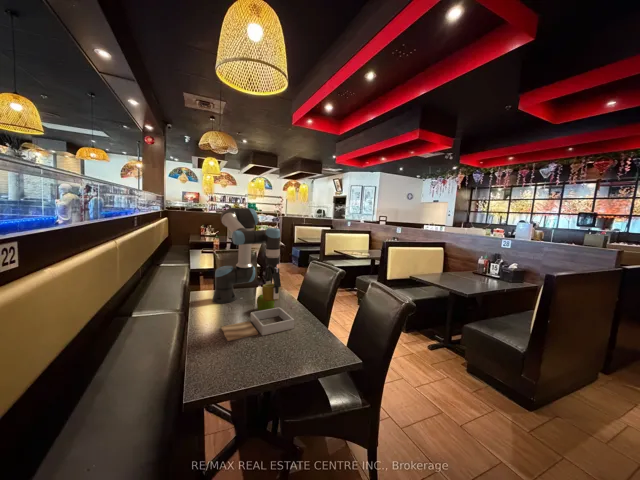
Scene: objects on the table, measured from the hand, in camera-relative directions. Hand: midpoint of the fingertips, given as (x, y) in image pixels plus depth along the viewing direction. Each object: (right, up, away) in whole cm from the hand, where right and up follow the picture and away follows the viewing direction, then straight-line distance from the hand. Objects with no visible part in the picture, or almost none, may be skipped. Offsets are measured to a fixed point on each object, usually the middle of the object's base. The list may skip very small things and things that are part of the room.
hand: (272, 295), depth 142 cm
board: (-16, -17, -8) cm, 25 cm away
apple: (-8, -14, +22) cm, 27 cm away
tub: (0, -17, +2) cm, 17 cm away
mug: (0, -2, +1) cm, 2 cm away
